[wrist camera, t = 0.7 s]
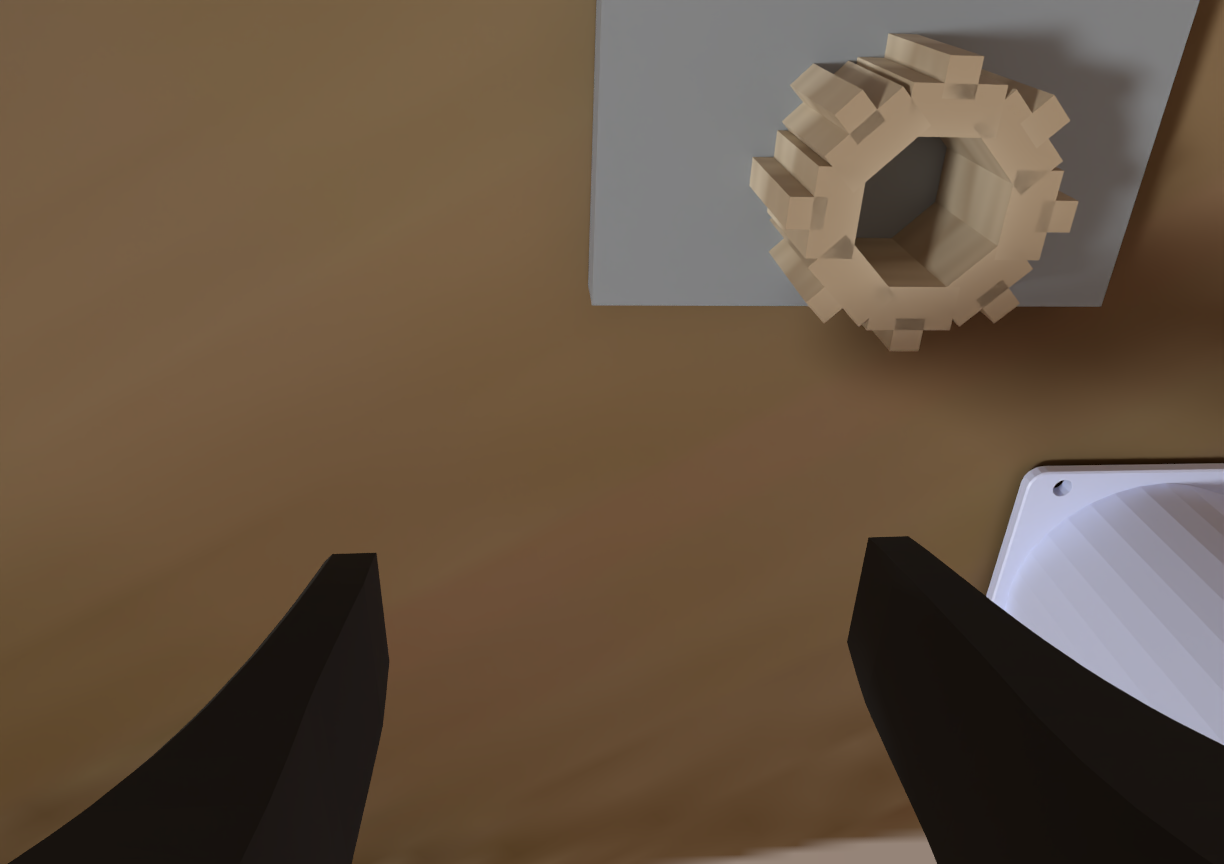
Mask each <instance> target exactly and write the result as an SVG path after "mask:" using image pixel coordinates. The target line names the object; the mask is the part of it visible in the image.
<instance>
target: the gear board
mask: <svg viewBox="0 0 1224 864" xmlns="http://www.w3.org/2000/svg"><path fill="white" fill-rule="evenodd" d="M1199 1H1200V0H597V4H596V38H595V72H594V107H593V141H592V175H591V209H590V244H589V278H588V287H589V292H590V297H591V302H592V305H687V306H808V305H807V303H806V302H805V301H804V300H803V298H802V297H801V295H800V294H799V293H798V291H797V290H796V289H795V287H794V286H793V284H792V283H791V282H790V280H789V279H788V278H787V276H786V275H785V274H784V272H783V271H782V269H781V268H780V267H779V265H778V264H777V263H776V261H775V260H774V259H773V257H772V256H771V254H770V253H769V251H770V250H771V249H772V248H773V247H774V246H776V245H777V244H778V243H779V242H780V241H781V240H782V239H784V238H783V236H782V235H781V234H780V233H779V231H778V230H777V229H776V228H775V226H774V225H773V224H772V223H771V221H770V219H771V218H772V217H771V216H770V215H769V214H768V212H767V206H766V205H765V204H764V203H763V202H762V200H761V199H760V198H759V197H758V196H757V194H756V193H755V192H754V191H753V190H752V188H751V187H750V186H749V185H750V176H751V167H752V158H753V157H774V152H775V144H776V136H777V130H787V131H789V130H788V129H787V127H786V126H785V125H784V124H783V122H782V121H783V120H784V119H785V118H786V117H787V116H788V115H789V114H791V113H792V112H793V111H794V110H795V109H796V108H797V107H798V106H799V105H800V104H802V103H803V102H802V100H801V99H800V98H799V96H798V95H797V94H796V93H795V91H794V90H793V89H792V87H791V86H790V85H791V84H792V83H793V82H794V81H795V80H796V79H797V78H798V77H799V76H800V75H801V74H802V73H804V72H805V71H806V70H807V69H808V68H809V67H810V66H811V65H812V64H813V63H814V64H816V65H818V66H819V67H821V68H823V69H825V70H827V71H829V72H831V73H832V74H834V73H835V72H837V71H838V70H839V69H840V68H841V67H842V66H843V65H844V64H845V63H846V62H847V61H850V62H853V63H855V64H857V58H858V57H875V58H884V56H885V51H886V45H887V39H888V33H891V34H918V35H921V36H924V37H927V38H930V39H933V40H936V41H939V42H942V43H945V44H949V45H952V46H955V47H958V48H961V49H964V50H967V51H970V52H973V53H976V54H979V55H982V56H984V60H983V65H982V69H983V70H986V71H989V72H991V73H994V74H997V75H1000V76H1003V77H1005V78H1008V79H1011V80H1014V81H1017V82H1019V83H1022V84H1025V85H1028V86H1031V87H1034V88H1036V89H1039V90H1042V91H1045V92H1048V93H1050V94H1053V95H1055V97H1056V98H1057V100H1058V101H1059V103H1060V105H1061V106H1062V108H1063V109H1064V111H1065V113H1066V114H1067V116H1068V117H1069V119H1070V121H1069V122H1068V123H1067V124H1066V125H1065V126H1063V127H1062V128H1061V129H1060V130H1058V131H1057V132H1056V133H1055V134H1054V135H1052V136H1051V137H1050V138H1049V140H1050V142H1051V143H1052V145H1053V146H1054V148H1055V149H1056V151H1057V152H1058V154H1059V156H1060V157H1061V159H1062V160H1063V161H1062V162H1061V163H1060V164H1059V165H1058V166H1056V167H1057V168H1059V169H1061V170H1063V171H1064V173H1063V177H1062V180H1061V184H1060V187H1059V191H1060V192H1062V193H1064V194H1066V195H1068V196H1070V197H1072V198H1074V199H1076V200H1078V201H1079V202H1078V205H1077V209H1076V212H1075V215H1074V219H1073V222H1072V226H1071V229H1070V233H1062V232H1047V234H1046V237H1045V241H1044V245H1043V248H1042V252H1041V255H1040V259H1039V260H1027V261H1028V263H1029V264H1030V265H1031V267H1032V268H1033V270H1031V271H1030V272H1029V273H1027V274H1026V275H1025V276H1024V277H1022V278H1021V279H1020V280H1018V281H1017V282H1016V283H1015V284H1013V285H1012V286H1011V287H1009V289H1010V290H1011V292H1012V293H1013V295H1014V296H1015V297H1016V299H1017V300H1018V301H1019V303H1020V304H1019V305H1018V306H1044V307H1101V305H1102V302H1103V299H1104V296H1105V293H1106V290H1107V287H1108V284H1109V281H1110V277H1111V274H1112V271H1113V268H1114V265H1115V262H1116V259H1117V256H1118V253H1119V250H1120V246H1121V243H1122V240H1123V237H1124V234H1125V231H1126V228H1127V225H1128V222H1129V218H1130V215H1131V212H1132V209H1133V206H1134V203H1135V200H1136V197H1137V194H1138V191H1139V187H1140V184H1141V181H1142V178H1143V175H1144V172H1145V169H1146V166H1147V163H1148V159H1149V156H1150V153H1151V150H1152V147H1153V144H1154V141H1155V138H1156V135H1157V132H1158V128H1159V125H1160V122H1161V119H1162V116H1163V113H1164V110H1165V107H1166V104H1167V100H1168V97H1169V94H1170V91H1171V88H1172V85H1173V82H1174V79H1175V76H1176V73H1177V69H1178V66H1179V63H1180V60H1181V57H1182V54H1183V51H1184V48H1185V45H1186V42H1187V38H1188V35H1189V32H1190V29H1191V26H1192V23H1193V20H1194V17H1195V14H1196V10H1197V7H1198V4H1199ZM946 149H947V147H946V145H945V144H944V143H943V141H942V140H941V138H940V137H917V138H916V139H915V140H914V141H913V142H912V143H910V144H909V145H908V146H907V147H906V148H905V149H904V150H902V151H901V152H900V153H899V154H898V155H897V156H895V157H894V158H893V159H892V160H891V161H890V162H888V163H887V164H886V165H885V166H884V167H883V168H882V169H880V170H879V171H878V172H877V173H876V174H875V175H873V176H872V177H871V178H870V179H869V180H868V181H866V182H865V187H864V193H863V199H862V204H861V210H860V216H859V222H858V227H857V233H856V238H892V237H894V236H895V235H896V234H897V233H898V232H900V231H901V230H902V229H903V228H904V227H906V226H907V225H908V224H909V223H910V222H912V221H913V220H914V219H915V218H916V217H918V216H919V215H920V214H921V213H922V212H924V211H925V210H926V209H927V208H928V207H930V206H931V205H932V204H933V203H934V202H935V200H936V196H937V191H938V186H939V182H940V177H941V172H942V168H943V163H944V158H945V154H946Z"/></svg>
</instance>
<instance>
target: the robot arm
mask: <svg viewBox="0 0 1224 864" xmlns="http://www.w3.org/2000/svg"><path fill="white" fill-rule="evenodd" d="M1062 480H1064V481H1063V483H1062V484H1061V485H1060V486H1058V487H1056V488H1054V486H1055V485H1056V484H1057V483H1058V482H1060V481H1062ZM847 643H848V647H849V650H850V654H851V657H852V661H853V664H854V668H855V671H856V675H857V678H858V681H859V684H860V688H861V691H862V694H863V697H864V700H865V703H866V705H867V708H868V710H869V712H870V715H871V717H872V719H873V721H874V724H875V726H876V728H877V730H878V733H879V735H880V737H881V739H882V741H883V744H884V746H885V748H886V750H887V752H888V755H889V757H890V759H891V761H892V763H893V765H894V768H895V770H896V772H897V774H898V776H899V778H900V781H901V783H902V785H903V787H904V789H905V792H906V794H907V796H908V798H909V800H910V802H911V805H912V807H913V809H914V811H915V813H916V815H917V818H918V820H919V822H920V824H921V826H922V828H923V831H924V833H925V835H926V837H927V840H928V842H929V845H930V847H931V849H932V852H933V854H934V857H935V859H936V862H937V864H1224V463H1204V464H1139V465H1075V466H1041V467H1036V468H1034V469H1032V470H1030V471H1029V472H1028V473H1027V474H1026V475H1025V476H1024V478H1023V480H1022V481H1021V484H1020V488H1019V491H1018V494H1017V498H1016V501H1015V504H1014V507H1013V511H1012V514H1011V517H1010V520H1009V524H1008V527H1007V530H1006V533H1005V537H1004V540H1003V543H1002V546H1001V550H1000V553H999V556H998V559H997V563H996V566H995V569H994V572H993V576H992V579H991V582H990V585H989V589H988V592H987V595H986V596H985V595H984V594H982V593H981V592H980V591H978V590H977V589H976V588H975V587H973V586H972V585H971V584H970V583H968V582H967V581H966V580H964V579H963V578H962V577H961V576H959V575H958V574H957V573H956V572H954V571H953V570H952V569H951V568H949V567H948V566H947V565H945V564H944V563H943V562H942V561H940V560H939V559H938V558H937V557H935V556H934V555H933V554H931V553H930V552H929V551H928V550H926V549H925V548H924V547H922V546H921V545H920V544H918V543H917V542H915V541H914V540H913V539H911V538H910V537H908V536H905V537H873V538H868V543H867V548H866V553H865V557H864V562H863V567H862V572H861V577H860V582H859V587H858V592H857V596H856V601H855V606H854V611H853V616H852V621H851V626H850V631H849V635H848V640H847ZM388 669H389V655H388V647H387V638H386V630H385V622H384V613H383V605H382V597H381V588H380V580H379V571H378V563H377V555H376V553H356V554H332V555H331V556H330V557H329V558H328V559H327V560H326V561H325V562H324V564H323V565H322V566H321V568H320V569H319V570H318V572H317V573H316V575H315V576H314V577H313V579H312V580H311V582H310V583H309V584H308V586H307V587H306V588H305V590H304V591H303V592H302V594H301V595H300V596H299V598H298V599H297V600H296V602H295V603H294V604H293V605H292V607H291V608H290V609H289V611H288V612H287V613H286V615H285V616H284V617H283V618H282V620H281V621H280V622H279V623H278V625H277V626H276V627H275V628H274V629H273V631H272V632H271V633H270V634H269V635H268V637H267V638H266V639H265V640H264V641H263V643H262V644H261V645H260V646H259V648H258V649H257V650H256V651H255V652H254V654H253V655H252V656H251V657H250V658H249V659H248V660H247V662H246V663H245V664H244V665H243V666H242V667H241V668H240V669H239V670H238V671H237V673H236V674H235V675H234V676H233V677H232V678H231V679H230V680H229V681H228V682H227V683H226V684H225V686H224V687H223V688H222V689H221V690H220V691H219V692H218V693H217V694H216V695H215V696H214V697H213V699H212V700H211V701H210V702H209V703H208V704H207V705H206V706H205V707H204V708H203V709H202V710H201V711H200V712H199V713H198V714H197V715H196V716H195V717H194V718H193V719H192V720H191V721H190V722H189V723H188V724H187V725H185V726H184V727H183V728H182V729H181V730H180V731H179V732H178V733H177V734H176V735H175V736H174V737H173V738H172V739H170V740H169V741H168V742H167V743H166V744H165V745H164V746H163V747H162V748H161V749H160V750H158V751H157V752H156V753H155V754H154V755H153V756H152V757H151V758H149V759H148V760H147V761H146V762H145V763H143V764H142V765H141V766H140V767H139V768H137V769H136V770H135V771H134V772H133V773H131V774H130V775H129V776H128V777H126V778H125V779H124V780H123V781H121V782H120V783H119V784H118V785H116V786H115V787H114V788H113V789H111V790H110V791H109V792H108V793H106V794H105V795H104V796H103V797H101V798H100V799H99V800H98V801H96V802H95V803H94V804H93V805H91V806H90V807H89V808H87V809H86V810H85V811H83V812H82V813H81V814H79V815H78V816H76V817H75V818H74V819H72V820H71V821H69V822H68V823H67V824H65V825H64V826H62V827H61V828H60V829H58V830H57V831H55V832H54V833H53V834H51V835H50V836H48V837H47V838H45V839H44V840H42V841H41V842H39V843H38V844H36V845H35V846H34V847H32V848H31V849H29V850H28V851H26V852H25V853H23V854H22V855H20V856H19V857H17V858H16V859H14V860H13V861H11V862H10V863H8V864H352V859H353V855H354V851H355V846H356V842H357V838H358V833H359V829H360V824H361V820H362V816H363V811H364V807H365V803H366V798H367V794H368V789H369V785H370V781H371V776H372V772H373V767H374V763H375V758H376V754H377V750H378V745H379V741H380V736H381V731H382V727H383V718H384V709H385V700H386V690H387V679H388Z"/></svg>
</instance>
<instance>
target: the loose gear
mask: <svg viewBox="0 0 1224 864" xmlns="http://www.w3.org/2000/svg"><path fill="white" fill-rule="evenodd" d="M983 60H984V56H982V55H979V54H976V53H973V52H970V51H967V50H964V49H961V48H958V47H955V46H952V45H949V44H945V43H942V42H939V41H936V40H933V39H930V38H927V37H924V36H921V35H918V34H891V33H888V39H887V45H886V51H885V56H884V58H875V57H858V58H857V64H855V63H853V62H850V61H847V62H846V63H845V64H844V65H843V66H842V67H841V68H840V69H839V70H838V71H837V72H835V73H834V74H832V73H831V72H829V71H827V70H825V69H823V68H821V67H819V66H818V65H816V64H814V63H813V64H812V65H811V66H810V67H809V68H808V69H807V70H806V71H805V72H804V73H802V74H801V75H800V76H799V77H798V78H797V79H796V80H795V81H794V82H793V83H792V84H791V85H790V86H791V87H792V89H793V90H794V91H795V93H796V94H797V95H798V96H799V98H800V99H801V100H802V102H803V103H802V104H800V105H799V106H798V107H797V108H796V109H795V110H794V111H793V112H792V113H791V114H789V115H788V116H787V117H786V118H785V119H784V120H783V121H782V122H783V124H784V125H785V126H786V127H787V129H788V130H789V131H787V130H777V136H776V144H775V152H774V157H753V158H752V167H751V176H750V185H749V186H750V187H751V188H752V190H753V191H754V192H755V193H756V194H757V196H758V197H759V198H760V199H761V200H762V202H763V203H764V204H765V205H766V206H767V212H768V214H769V215H770V216H771V217H772V218H771V219H770V221H771V223H772V224H773V225H774V226H775V228H776V229H777V230H778V231H779V233H780V234H781V235H782V236H783V238H784V239H782V240H781V241H780V242H779V243H778V244H777V245H776V246H774V247H773V248H772V249H771V250H770V251H769V253H770V254H771V256H772V257H773V259H774V260H775V261H776V263H777V264H778V265H779V267H780V268H781V269H782V271H783V272H784V274H785V275H786V276H787V278H788V279H789V280H790V282H791V283H792V284H793V286H794V287H795V289H796V290H797V291H798V293H799V294H800V295H801V297H802V298H803V300H804V301H805V302H806V303H807V305H808V306H809V307H810V308H811V309H812V310H813V311H814V313H815V314H816V315H817V316H818V317H819V318H820V319H821V321H822V322H823V323H825V322H826V321H828V320H829V319H830V318H831V317H832V316H834V315H835V314H836V313H837V312H838V311H840V310H841V309H842V308H843V309H844V310H845V311H846V313H847V314H848V315H849V316H850V317H851V318H852V320H853V321H854V322H855V323H856V324H857V325H858V327H859V326H860V325H861V324H862V325H863V326H864V328H865V329H866V330H872V331H873V332H874V333H875V334H876V336H877V337H878V338H879V339H880V340H881V342H882V343H883V344H884V345H885V346H886V348H887V349H888V350H889V351H919V346H920V342H921V338H922V333H923V330H950V328H951V323H952V320H953V321H954V322H955V323H956V324H957V325H958V326H959V327H960V326H961V325H962V324H963V323H965V322H966V321H967V320H969V319H970V318H971V317H972V316H974V315H975V314H976V313H978V312H979V311H980V312H982V313H983V314H984V315H985V316H986V317H987V318H988V319H990V320H991V321H992V322H993V323H996V322H997V321H998V320H999V319H1001V318H1002V317H1003V316H1005V315H1006V314H1007V313H1008V312H1010V311H1011V310H1012V309H1014V308H1015V307H1016V306H1018V305H1019V304H1020V303H1019V301H1018V300H1017V299H1016V297H1015V296H1014V295H1013V293H1012V292H1011V290H1010V289H1009V287H1011V286H1012V285H1013V284H1015V283H1016V282H1017V281H1018V280H1020V279H1021V278H1022V277H1024V276H1025V275H1026V274H1027V273H1029V272H1030V271H1031V270H1033V268H1032V267H1031V265H1030V264H1029V263H1028V261H1027V260H1039V259H1040V255H1041V252H1042V248H1043V245H1044V241H1045V237H1046V234H1047V232H1062V233H1070V229H1071V226H1072V222H1073V219H1074V215H1075V212H1076V209H1077V205H1078V202H1079V201H1078V200H1076V199H1074V198H1072V197H1070V196H1068V195H1066V194H1064V193H1062V192H1060V191H1059V187H1060V184H1061V180H1062V177H1063V173H1064V171H1063V170H1061V169H1059V168H1057V167H1056V166H1058V165H1059V164H1060V163H1061V162H1062V161H1063V160H1062V159H1061V157H1060V156H1059V154H1058V152H1057V151H1056V149H1055V148H1054V146H1053V145H1052V143H1051V142H1050V140H1049V138H1050V137H1051V136H1052V135H1054V134H1055V133H1056V132H1057V131H1058V130H1060V129H1061V128H1062V127H1063V126H1065V125H1066V124H1067V123H1068V122H1069V121H1070V119H1069V117H1068V116H1067V114H1066V113H1065V111H1064V109H1063V108H1062V106H1061V105H1060V103H1059V101H1058V100H1057V98H1056V97H1055V95H1053V94H1050V93H1048V92H1045V91H1042V90H1039V89H1036V88H1034V87H1031V86H1028V85H1025V84H1022V83H1019V82H1017V81H1014V80H1011V79H1008V78H1005V77H1003V76H1000V75H997V74H994V73H991V72H989V71H986V70H983V69H982V65H983ZM917 137H940V138H941V140H942V141H943V143H944V144H945V145H946V147H947V149H946V154H945V158H944V163H943V168H942V172H941V177H940V182H939V186H938V191H937V196H936V200H935V202H934V203H933V204H932V205H931V206H930V207H928V208H927V209H926V210H925V211H924V212H922V213H921V214H920V215H919V216H918V217H916V218H915V219H914V220H913V221H912V222H910V223H909V224H908V225H907V226H906V227H904V228H903V229H902V230H901V231H900V232H898V233H897V234H896V235H895V236H894V237H892V238H856V233H857V227H858V222H859V216H860V210H861V204H862V199H863V193H864V187H865V182H866V181H868V180H869V179H870V178H871V177H872V176H873V175H875V174H876V173H877V172H878V171H879V170H880V169H882V168H883V167H884V166H885V165H886V164H887V163H888V162H890V161H891V160H892V159H893V158H894V157H895V156H897V155H898V154H899V153H900V152H901V151H902V150H904V149H905V148H906V147H907V146H908V145H909V144H910V143H912V142H913V141H914V140H915V139H916V138H917Z"/></svg>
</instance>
